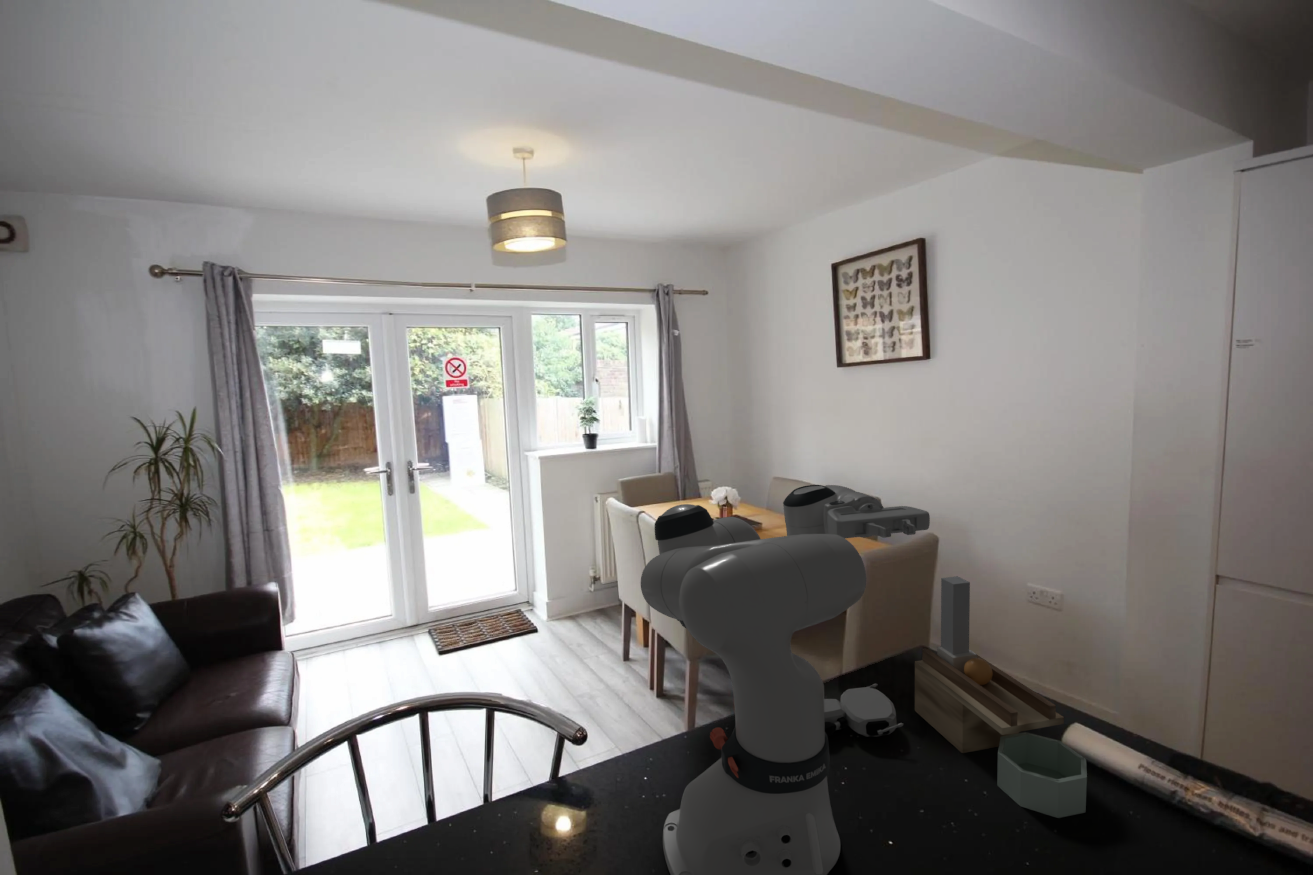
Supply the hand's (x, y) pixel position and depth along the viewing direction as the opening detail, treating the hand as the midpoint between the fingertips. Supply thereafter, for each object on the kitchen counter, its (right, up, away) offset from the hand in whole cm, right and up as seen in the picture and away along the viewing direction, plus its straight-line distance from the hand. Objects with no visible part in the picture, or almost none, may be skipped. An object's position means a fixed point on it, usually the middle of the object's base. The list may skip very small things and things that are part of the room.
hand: (900, 531), depth 114 cm
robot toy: (-14, -31, -13) cm, 36 cm away
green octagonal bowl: (+8, -31, -30) cm, 44 cm away
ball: (+5, -19, -19) cm, 27 cm away
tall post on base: (+4, -20, -14) cm, 25 cm away
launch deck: (+6, -30, -18) cm, 36 cm away
